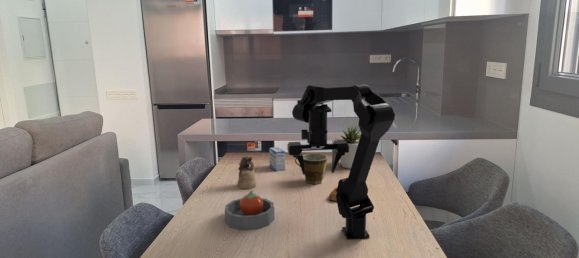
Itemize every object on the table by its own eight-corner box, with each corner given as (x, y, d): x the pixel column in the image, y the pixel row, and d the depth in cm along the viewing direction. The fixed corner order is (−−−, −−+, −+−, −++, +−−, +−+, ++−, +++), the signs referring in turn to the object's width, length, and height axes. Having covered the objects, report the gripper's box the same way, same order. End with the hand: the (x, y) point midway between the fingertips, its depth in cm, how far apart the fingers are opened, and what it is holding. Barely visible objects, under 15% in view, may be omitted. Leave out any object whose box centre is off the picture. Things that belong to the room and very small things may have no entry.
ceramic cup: (329, 178, 158) (330, 154, 156) (323, 187, 149) (323, 161, 147) (299, 175, 163) (299, 152, 160) (291, 183, 153) (290, 158, 151)
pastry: (339, 204, 133) (339, 193, 133) (324, 199, 138) (323, 189, 137) (355, 196, 140) (355, 186, 139) (339, 192, 145) (339, 182, 144)
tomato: (265, 210, 127) (264, 187, 125) (261, 220, 119) (260, 196, 118) (242, 209, 127) (241, 186, 126) (237, 220, 120) (236, 195, 118)
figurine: (246, 181, 156) (245, 152, 154) (260, 185, 152) (259, 155, 150) (234, 187, 151) (232, 156, 148) (248, 190, 147) (247, 159, 144)
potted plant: (329, 165, 175) (329, 121, 171) (354, 160, 182) (355, 117, 177) (346, 172, 165) (346, 126, 160) (372, 167, 171) (373, 122, 167)
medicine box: (269, 166, 175) (268, 147, 173) (278, 165, 177) (278, 146, 175) (276, 171, 168) (275, 152, 166) (285, 170, 170) (285, 150, 168)
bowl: (275, 228, 117) (275, 215, 116) (224, 231, 115) (223, 218, 115) (272, 207, 131) (272, 196, 131) (227, 209, 130) (226, 198, 129)
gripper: (341, 119, 130) (341, 164, 133) (285, 121, 128) (286, 167, 132) (350, 126, 119) (349, 175, 122) (288, 128, 117) (289, 178, 121)
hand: (318, 173), depth 125 cm, fingers open, 9 cm apart
